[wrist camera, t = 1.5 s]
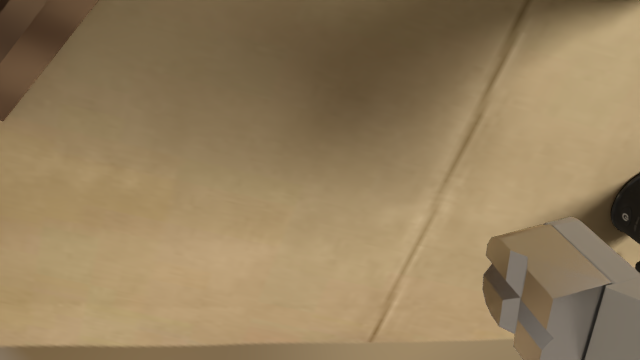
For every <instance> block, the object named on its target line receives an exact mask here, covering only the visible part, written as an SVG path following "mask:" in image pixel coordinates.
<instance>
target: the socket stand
mask: <svg viewBox="0 0 640 360" xmlns="http://www.w3.org/2000/svg"><path fill="white" fill-rule="evenodd" d="M97 2H98V0H0V120H1V121H4V120H5V119H6V117H7V116H8V115H9V113H10V112H11V111H12V110H13V108H14V107H15V106H16V105H17V103H18V102H19V101H20V99H21V98H22V97H23V96H24V94H25V93H26V92H27V91H28V89H29V88H30V87H31V85H32V84H33V83H34V82H35V80H36V79H37V78H38V77H39V75H40V74H41V73H42V71H43V70H44V69H45V68H46V66H47V65H48V64H49V63H50V61H51V60H52V59H53V58H54V56H55V55H56V54H57V52H58V51H59V50H60V49H61V47H62V46H63V45H64V44H65V42H66V41H67V40H68V38H69V37H70V36H71V35H72V33H73V32H74V31H75V30H76V28H77V27H78V26H79V24H80V23H81V22H82V21H83V19H84V18H85V17H86V16H87V14H88V13H89V12H90V10H91V9H92V8H93V7H94V5H95V4H96V3H97Z"/></svg>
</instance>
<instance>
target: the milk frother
mask: <svg viewBox="0 0 640 360" xmlns="http://www.w3.org/2000/svg"><path fill="white" fill-rule="evenodd" d="M611 219H612V223H613V224H614V226H615V227H616V228H617V229H618V230H620V231H621V232H624V233H626V234H627V235H628V236H630V237H631V238H632V239H634V240H635V241H636V242H637V243H639V244H640V175H637V176H636V177H635V178H633V179H632V180H631V181H630V182H629V183H628V184H627V185H626V186H625V187H624V188H623V189H622V190H621V192H620V193H619V195H618V196H617V197H616V199H615V202H614V204H613V207H612V211H611ZM635 269H636V270H637V271H638V272H639V273H640V261H639V262H637V263H636V267H635Z"/></svg>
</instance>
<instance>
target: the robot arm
mask: <svg viewBox="0 0 640 360" xmlns="http://www.w3.org/2000/svg"><path fill="white" fill-rule="evenodd" d="M486 256H487V258H488V259H489V260H490V261H491V263H492V264H491V266H490V267H489V268H488V270H487V271H486V272H485V273H484V276H483V293H484V297H485V302H486V305H487V307H488V309H489V311H490V313H491V315H492V317H493V318H494V320H495V321H496V323H497V324H498V326H499V327H501V328H503V329H505V330H507V331H510V332H512V333H514V348H515V349H516V350H517V352H518V353H519V355H520V356H521V357H522V359H523V360H640V273H639V272H638V271H637V270H636V269H634V268H633V267H632V266H631V265H630V264H629V263H628V262H627V261H625V260H624V259H623V258H622V257H621V256H620V255H619V254H617V253H616V252H615V251H614V250H613V249H612V248H611V247H610V246H608V245H607V244H606V243H605V242H604V241H603V240H602V239H600V238H599V237H598V236H597V235H596V234H595V233H594V232H593V231H591V230H590V229H589V228H588V227H587V226H586V225H585V224H584V223H582V222H581V221H580V220H579V219H576V218H573V217H567V218H563V219H559V220H556V221H552V222H548V223H545V224H543V225H537V226H533V227H529V228H525V229H522V230H518V231H514V232H510V233H506V234H503V235H499V236H495V237H491V239H490V241H489V242H488V244H487V251H486Z"/></svg>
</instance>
